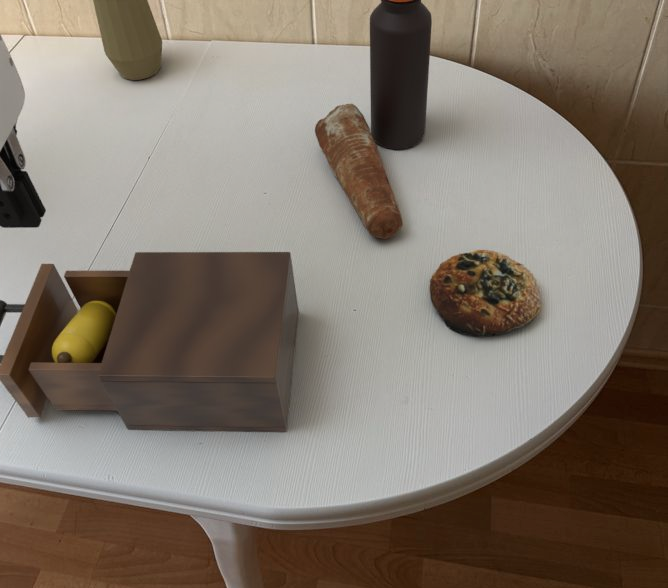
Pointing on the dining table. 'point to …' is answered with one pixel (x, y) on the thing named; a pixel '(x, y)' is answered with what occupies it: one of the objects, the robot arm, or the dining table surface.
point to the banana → (85, 334)
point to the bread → (359, 169)
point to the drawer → (42, 330)
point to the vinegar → (399, 72)
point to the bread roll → (484, 293)
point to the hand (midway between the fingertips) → (23, 219)
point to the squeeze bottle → (130, 37)
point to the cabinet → (204, 342)
